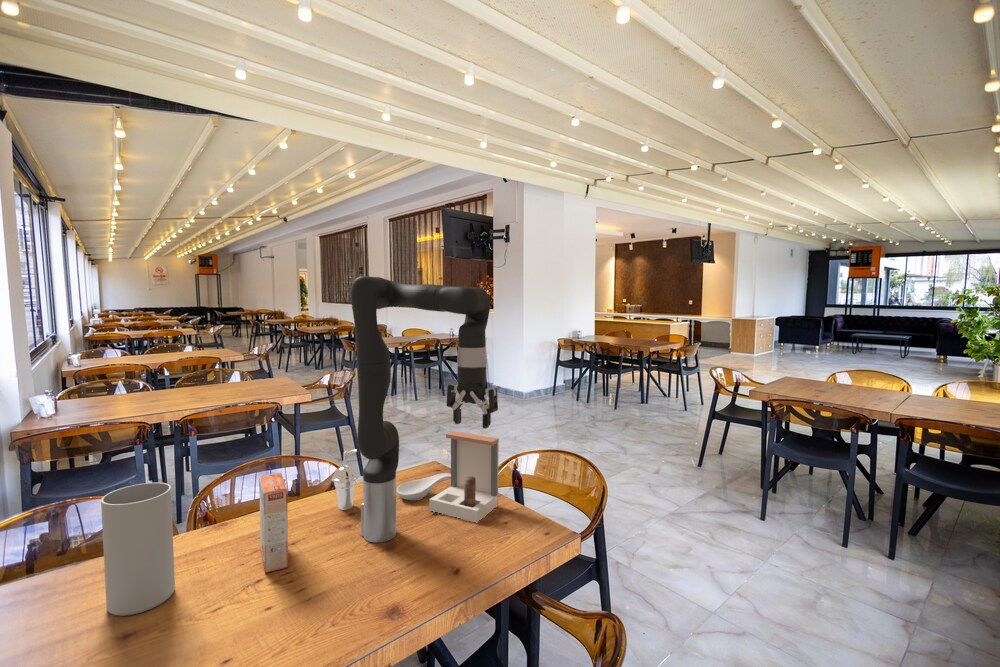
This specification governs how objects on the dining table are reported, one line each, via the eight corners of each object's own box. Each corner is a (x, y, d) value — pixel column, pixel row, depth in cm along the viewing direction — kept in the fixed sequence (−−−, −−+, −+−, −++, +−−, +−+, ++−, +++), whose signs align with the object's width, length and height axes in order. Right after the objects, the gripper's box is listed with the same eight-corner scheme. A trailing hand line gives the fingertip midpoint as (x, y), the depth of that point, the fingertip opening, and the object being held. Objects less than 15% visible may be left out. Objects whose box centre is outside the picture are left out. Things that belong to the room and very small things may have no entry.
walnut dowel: (462, 515, 152) (462, 479, 152) (468, 511, 156) (468, 475, 155) (471, 518, 151) (471, 481, 150) (477, 513, 154) (477, 477, 153)
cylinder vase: (137, 582, 115) (132, 482, 114) (187, 584, 115) (183, 483, 113) (91, 616, 103) (85, 504, 101) (147, 618, 102) (142, 505, 101)
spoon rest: (398, 506, 160) (398, 485, 159) (394, 493, 171) (394, 473, 170) (466, 498, 167) (467, 478, 166) (459, 485, 178) (459, 466, 177)
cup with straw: (352, 499, 164) (351, 442, 163) (364, 507, 158) (363, 448, 156) (327, 506, 159) (326, 447, 157) (339, 515, 152) (338, 454, 151)
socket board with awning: (429, 511, 156) (429, 441, 154) (453, 495, 168) (453, 431, 166) (476, 523, 147) (477, 449, 146) (498, 506, 160) (498, 438, 158)
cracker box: (290, 567, 122) (288, 488, 121) (264, 574, 119) (261, 493, 118) (283, 543, 134) (282, 471, 133) (259, 549, 131) (257, 475, 130)
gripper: (440, 364, 124) (441, 425, 125) (488, 367, 117) (488, 432, 118) (456, 360, 130) (456, 419, 131) (502, 364, 124) (502, 425, 125)
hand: (471, 425), depth 125 cm, fingers open, 8 cm apart
